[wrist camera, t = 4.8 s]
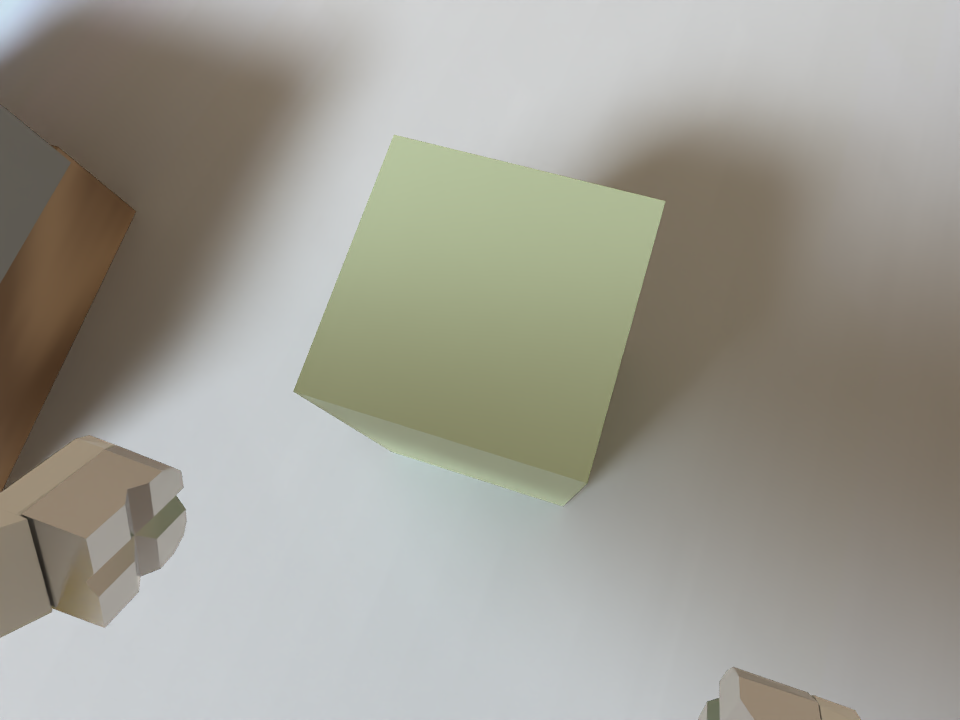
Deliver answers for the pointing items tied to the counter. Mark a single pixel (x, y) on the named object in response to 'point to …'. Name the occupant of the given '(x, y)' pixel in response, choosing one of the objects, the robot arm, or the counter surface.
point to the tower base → (52, 297)
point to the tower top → (23, 183)
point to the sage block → (483, 317)
